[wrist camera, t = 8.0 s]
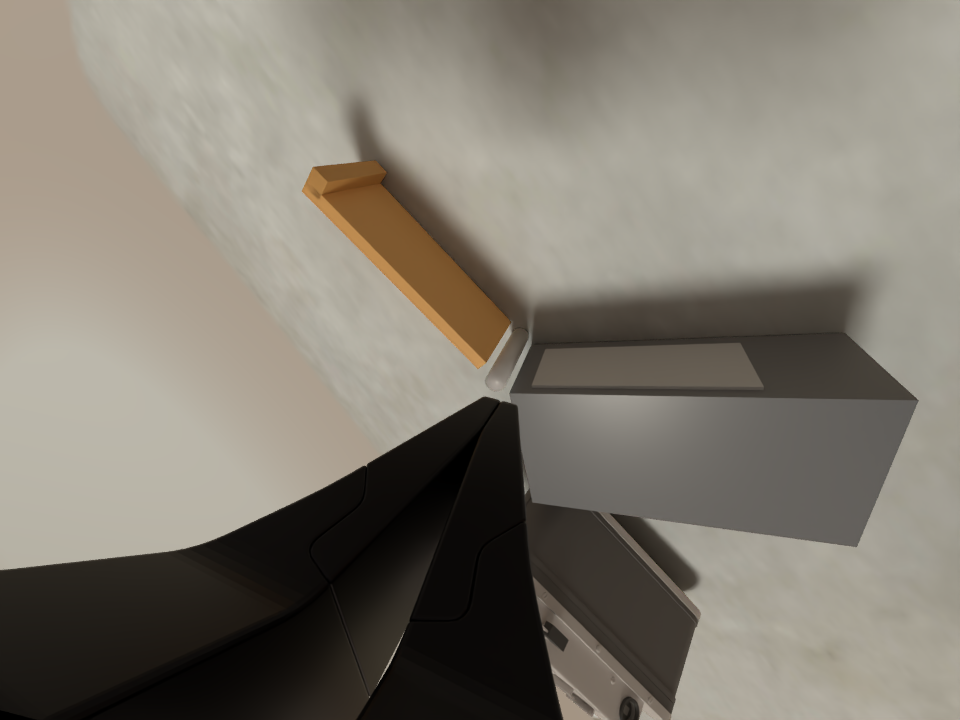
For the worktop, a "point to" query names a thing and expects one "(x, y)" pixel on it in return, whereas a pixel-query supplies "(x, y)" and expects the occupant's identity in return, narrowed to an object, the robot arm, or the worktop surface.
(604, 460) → the case
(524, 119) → the worktop surface
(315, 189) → the brown rectangular block
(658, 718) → the camera
